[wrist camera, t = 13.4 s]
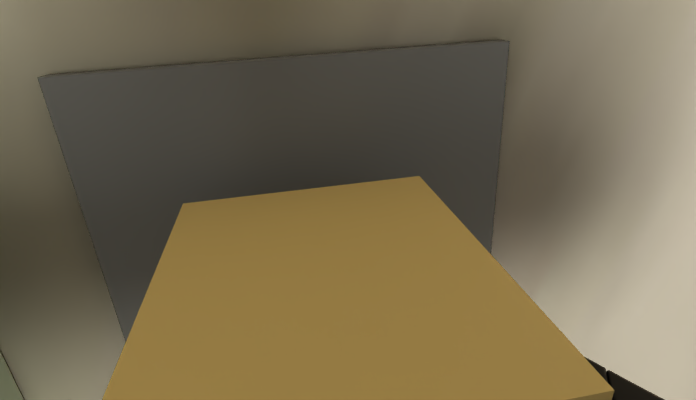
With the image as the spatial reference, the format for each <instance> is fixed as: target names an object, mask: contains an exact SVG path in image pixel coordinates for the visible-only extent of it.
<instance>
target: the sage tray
mask: <svg viewBox="0 0 696 400" xmlns="http://www.w3.org/2000/svg"><path fill="white" fill-rule="evenodd" d="M0 400H24V399H23V397H22V395H21V393H20V391H19V389H18V387H17V385H16V383H15V381H14V379H13V377H12V375H11V373H10V370H9V368H8V366H7V364H6V362H5V360H4V358H3V356H2V354H1V352H0Z"/></svg>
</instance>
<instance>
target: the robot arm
mask: <svg viewBox="0 0 696 400" xmlns="http://www.w3.org/2000/svg"><path fill="white" fill-rule="evenodd" d="M585 358H586V357H585ZM586 360H587V361H588V362H589V363H590V364H591V365H592V366H593V367H594V368H595V369H596V371H597V372H598V373H599V374H600V375H601V376H602V377H603V378H604V379H605V380H606V382H607V383H608V384H609V385H610V386H611V387H612V388H613V389H614V394H613V398H612V400H664V399H662V398H660V397H658V396H657V395H655V394H653V393H651V392H649V391H647V390H645V389H643V388H641V387H639V386H637V385H636V384H634V383H632V382H630V381H628V380H626V379H624V378H623V377H621V376H619V375H617V374H615V373H613V372H612V371H609V370H608V371H606V369H605V368H604V367H602V366H600V365H599V364H597V363H595V362H593V361H591V360H589V359H588V358H586Z"/></svg>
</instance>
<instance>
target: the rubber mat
mask: <svg viewBox="0 0 696 400" xmlns="http://www.w3.org/2000/svg"><path fill="white" fill-rule="evenodd" d="M508 52H509V41H505V40H494V41H481V42H468V43H455V44H442V45H429V46H416V47H403V48H390V49H377V50H364V51H351V52H338V53H325V54H312V55H299V56H286V57H273V58H260V59H247V60H233V61H220V62H207V63H194V64H181V65H168V66H155V67H142V68H129V69H116V70H103V71H90V72H77V73H64V74H51V75H44V76H41V77H38V81H39V84H40V87H41V90H42V93H43V96H44V99H45V102H46V105H47V108H48V111H49V114H50V117H51V120H52V123H53V126H54V129H55V132H56V135H57V138H58V141H59V144H60V147H61V150H62V153H63V156H64V159H65V162H66V165H67V168H68V171H69V174H70V177H71V180H72V183H73V186H74V189H75V192H76V195H77V198H78V201H79V204H80V207H81V210H82V213H83V215H84V218H85V221H86V224H87V227H88V230H89V233H90V236H91V239H92V242H93V245H94V248H95V251H96V254H97V257H98V260H99V263H100V266H101V269H102V272H103V275H104V278H105V281H106V284H107V287H108V290H109V293H110V296H111V299H112V302H113V305H114V308H115V311H116V314H117V317H118V320H119V323H120V326H121V329H122V332H123V335H124V338H125V341H127V338H128V336H129V333H130V331H131V328H132V326H133V324H134V321H135V319H136V316H137V314H138V311H139V309H140V307H141V304H142V302H143V299H144V297H145V294H146V292H147V290H148V287H149V285H150V282H151V280H152V277H153V275H154V273H155V270H156V268H157V265H158V263H159V260H160V258H161V256H162V253H163V251H164V248H165V246H166V243H167V241H168V239H169V236H170V234H171V231H172V229H173V226H174V224H175V222H176V219H177V217H178V214H179V212H180V209H181V207H182V205H183V203H191V202H200V201H209V200H217V199H226V198H234V197H243V196H251V195H260V194H268V193H277V192H286V191H294V190H303V189H311V188H320V187H328V186H337V185H346V184H354V183H363V182H371V181H380V180H388V179H397V178H405V177H414V176H420V177H421V178H422V179H423V180H424V182H425V183H426V184H427V185H428V186H429V187H430V188H431V189H432V190H433V191H434V193H435V194H436V195H437V196H438V197H439V198H440V199H441V200H442V201H443V202H444V204H445V205H446V206H447V207H448V208H449V209H450V210H451V211H452V212H453V213H454V215H455V216H456V217H457V218H458V219H459V220H460V221H461V222H462V223H463V224H464V226H465V227H466V228H467V229H468V230H469V231H470V232H471V233H472V234H473V235H474V236H475V238H476V239H477V240H478V241H479V242H480V243H481V244H482V245H483V246H484V247H485V249H486V250H487V251H488V252H489V253H490V254H491V245H492V234H493V222H494V211H495V200H496V188H497V177H498V166H499V154H500V143H501V132H502V120H503V109H504V98H505V86H506V75H507V64H508Z"/></svg>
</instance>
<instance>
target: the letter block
mask: <svg viewBox="0 0 696 400" xmlns="http://www.w3.org/2000/svg"><path fill="white" fill-rule="evenodd" d="M613 394H614V389H613V388H612V387H611V386H610V385H609V384H608V383H607V382H606V380H605V379H604V378H603V377H602V376H601V375H600V374H599V373H598V372H597V371H596V369H595V368H594V367H593V366H592V365H591V364H590V363H589V362H588V361H587V360H586V358H585V357H584V356H583V355H582V354H581V353H580V352H579V351H578V350H577V349H576V347H575V346H574V345H573V344H572V343H571V342H570V341H569V340H568V339H567V338H566V336H565V335H564V334H563V333H562V332H561V331H560V330H559V329H558V328H557V327H556V326H555V324H554V323H553V322H552V321H551V320H550V319H549V318H548V317H547V316H546V315H545V313H544V312H543V311H542V310H541V309H540V308H539V307H538V306H537V305H536V304H535V302H534V301H533V300H532V299H531V298H530V297H529V296H528V295H527V294H526V293H525V291H524V290H523V289H522V288H521V287H520V286H519V285H518V284H517V283H516V282H515V280H514V279H513V278H512V277H511V276H510V275H509V274H508V273H507V272H506V271H505V269H504V268H503V267H502V266H501V265H500V264H499V263H498V262H497V261H496V260H495V258H494V257H493V256H492V255H491V254H490V253H489V252H488V251H487V250H486V249H485V247H484V246H483V245H482V244H481V243H480V242H479V241H478V240H477V239H476V238H475V236H474V235H473V234H472V233H471V232H470V231H469V230H468V229H467V228H466V227H465V226H464V224H463V223H462V222H461V221H460V220H459V219H458V218H457V217H456V216H455V215H454V213H453V212H452V211H451V210H450V209H449V208H448V207H447V206H446V205H445V204H444V202H443V201H442V200H441V199H440V198H439V197H438V196H437V195H436V194H435V193H434V191H433V190H432V189H431V188H430V187H429V186H428V185H427V184H426V183H425V182H424V180H423V179H422V178H421V177H420V176H414V177H405V178H397V179H388V180H380V181H371V182H363V183H354V184H346V185H337V186H328V187H320V188H311V189H303V190H294V191H286V192H277V193H268V194H260V195H251V196H243V197H234V198H226V199H217V200H209V201H200V202H191V203H183V205H182V207H181V209H180V212H179V214H178V217H177V219H176V222H175V224H174V226H173V229H172V231H171V234H170V236H169V239H168V241H167V243H166V246H165V248H164V251H163V253H162V256H161V258H160V260H159V263H158V265H157V268H156V270H155V273H154V275H153V277H152V280H151V282H150V285H149V287H148V290H147V292H146V294H145V297H144V299H143V302H142V304H141V307H140V309H139V311H138V314H137V316H136V319H135V321H134V324H133V326H132V328H131V331H130V333H129V336H128V338H127V341H126V343H125V345H124V348H123V350H122V353H121V355H120V358H119V360H118V362H117V365H116V367H115V370H114V372H113V375H112V377H111V379H110V382H109V384H108V387H107V389H106V392H105V394H104V396H103V399H102V400H612V398H613Z"/></svg>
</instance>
